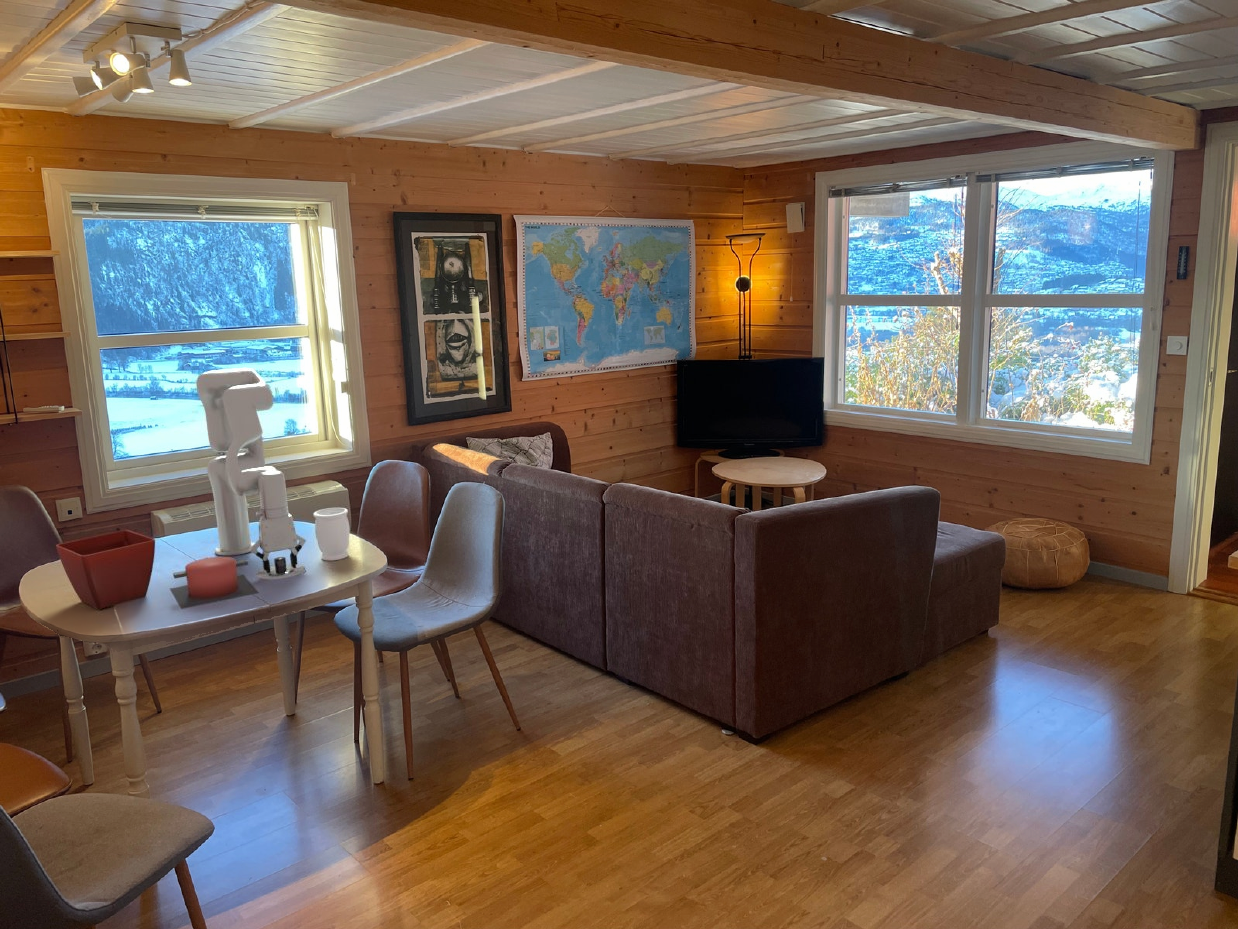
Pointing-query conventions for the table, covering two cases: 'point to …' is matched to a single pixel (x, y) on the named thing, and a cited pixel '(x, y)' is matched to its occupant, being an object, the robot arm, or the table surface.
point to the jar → (332, 533)
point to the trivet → (187, 601)
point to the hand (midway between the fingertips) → (280, 569)
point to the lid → (281, 570)
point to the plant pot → (109, 567)
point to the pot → (211, 577)
